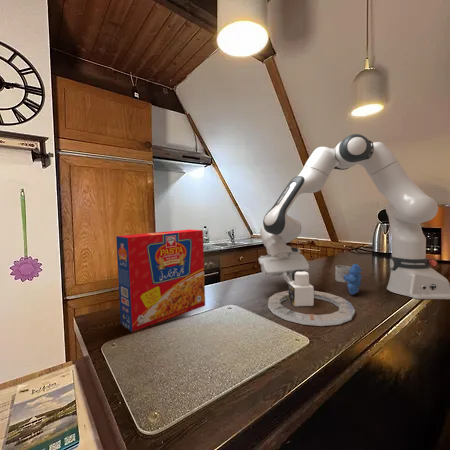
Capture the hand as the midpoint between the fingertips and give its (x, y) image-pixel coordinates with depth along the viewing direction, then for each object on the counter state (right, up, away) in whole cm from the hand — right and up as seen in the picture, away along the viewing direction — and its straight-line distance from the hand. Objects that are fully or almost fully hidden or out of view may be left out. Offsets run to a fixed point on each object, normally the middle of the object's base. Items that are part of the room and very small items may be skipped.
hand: (292, 283), depth 98 cm
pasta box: (-46, -8, -12) cm, 49 cm away
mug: (+30, -4, +23) cm, 39 cm away
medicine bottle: (+2, -6, -5) cm, 8 cm away
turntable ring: (+3, -6, -10) cm, 12 cm away
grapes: (+25, -5, +4) cm, 26 cm away
